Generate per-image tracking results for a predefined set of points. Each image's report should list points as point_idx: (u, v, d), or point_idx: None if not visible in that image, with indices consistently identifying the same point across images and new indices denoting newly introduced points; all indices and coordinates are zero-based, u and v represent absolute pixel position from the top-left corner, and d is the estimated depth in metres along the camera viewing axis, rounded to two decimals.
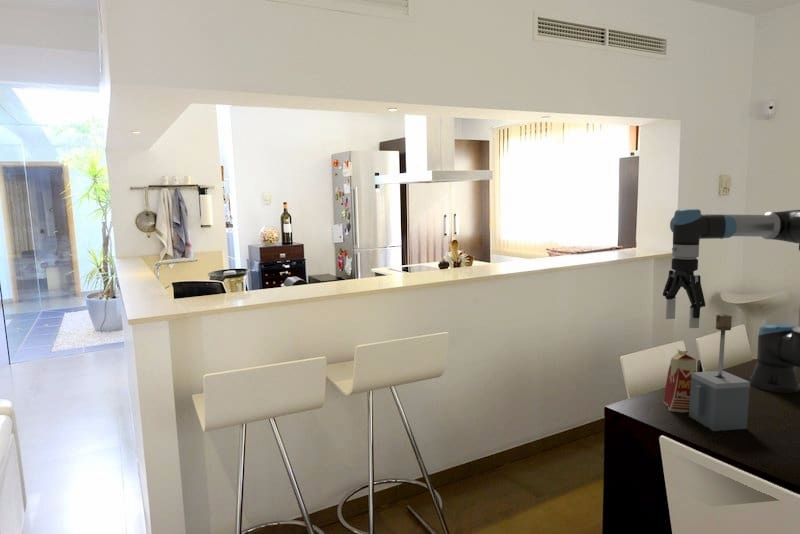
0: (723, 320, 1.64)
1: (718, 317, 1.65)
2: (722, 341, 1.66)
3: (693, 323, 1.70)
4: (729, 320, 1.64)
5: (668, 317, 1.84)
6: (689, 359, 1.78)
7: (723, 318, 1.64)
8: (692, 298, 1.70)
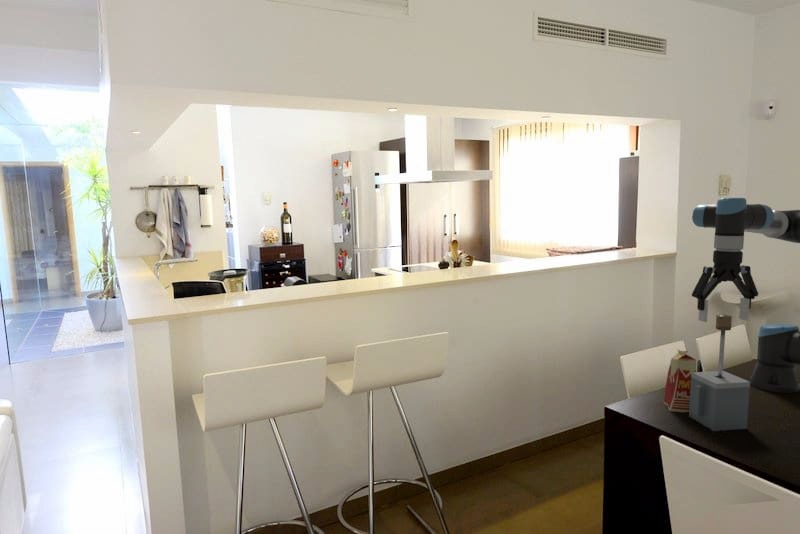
0: (723, 320, 1.64)
1: (718, 317, 1.65)
2: (722, 341, 1.66)
3: (700, 315, 1.65)
4: (729, 320, 1.64)
5: (740, 317, 1.67)
6: (689, 359, 1.78)
7: (723, 318, 1.64)
8: None
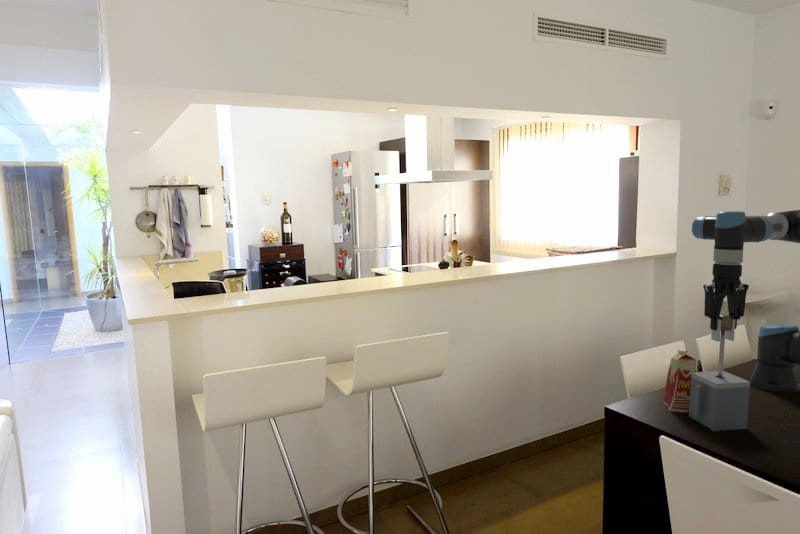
0: (723, 320, 1.64)
1: None
2: (722, 341, 1.66)
3: (713, 335, 1.66)
4: (729, 320, 1.64)
5: (726, 337, 1.67)
6: (689, 359, 1.78)
7: (723, 318, 1.64)
8: None
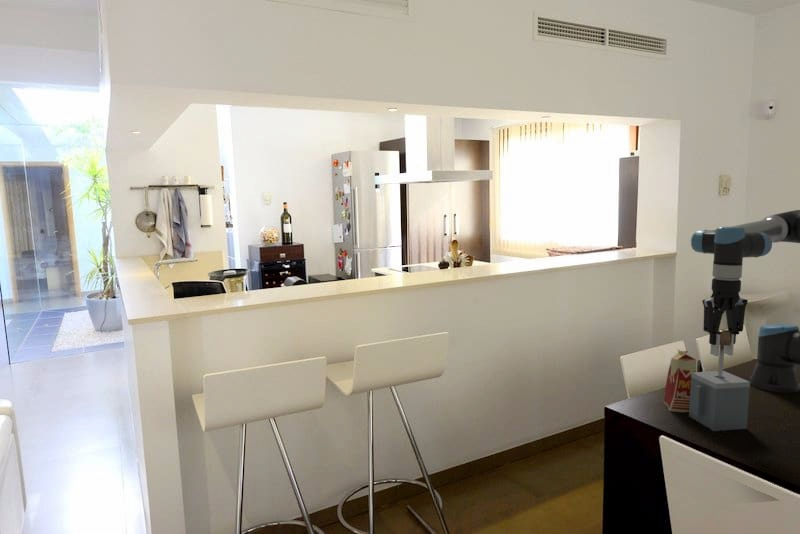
0: (722, 335, 1.64)
1: None
2: (721, 356, 1.66)
3: (712, 349, 1.67)
4: (728, 335, 1.64)
5: (725, 352, 1.68)
6: (689, 359, 1.78)
7: (722, 333, 1.64)
8: None
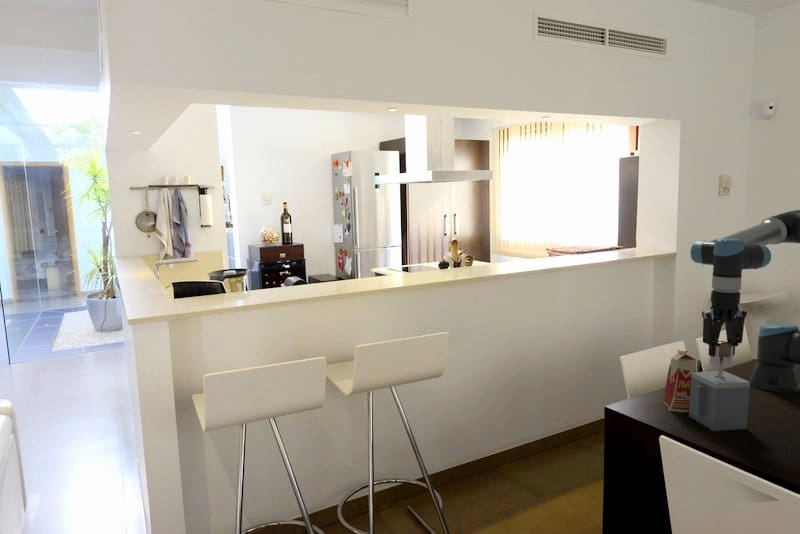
0: (722, 347, 1.65)
1: None
2: (720, 367, 1.67)
3: (711, 361, 1.67)
4: (727, 347, 1.65)
5: (724, 363, 1.68)
6: (689, 359, 1.78)
7: (721, 345, 1.65)
8: None
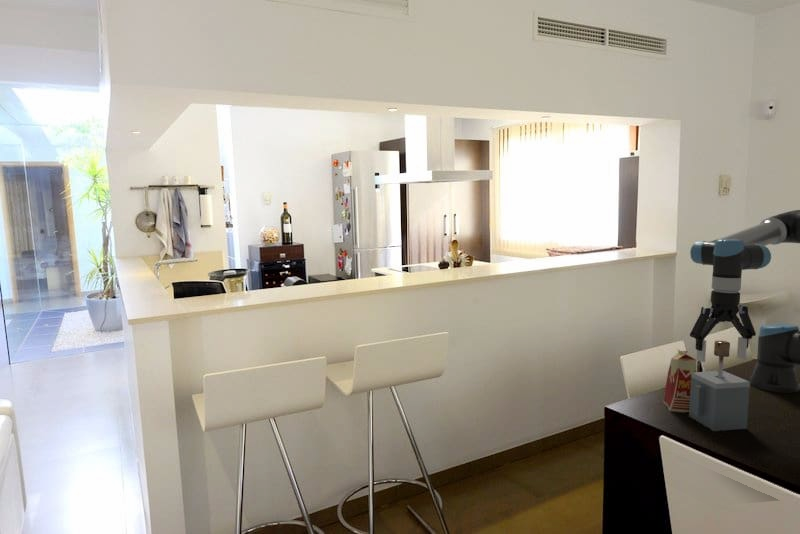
0: (722, 347, 1.65)
1: (716, 343, 1.66)
2: (720, 367, 1.67)
3: (699, 355, 1.66)
4: (727, 347, 1.65)
5: (738, 356, 1.69)
6: (689, 359, 1.78)
7: (721, 345, 1.65)
8: None
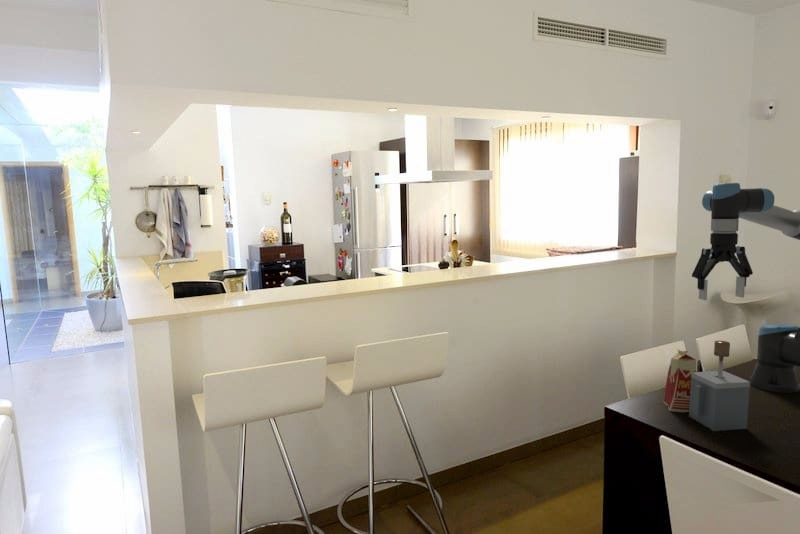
0: (722, 347, 1.65)
1: (716, 343, 1.66)
2: (720, 367, 1.67)
3: (700, 294, 1.76)
4: (727, 347, 1.65)
5: (736, 294, 1.79)
6: (689, 359, 1.78)
7: (721, 345, 1.65)
8: None
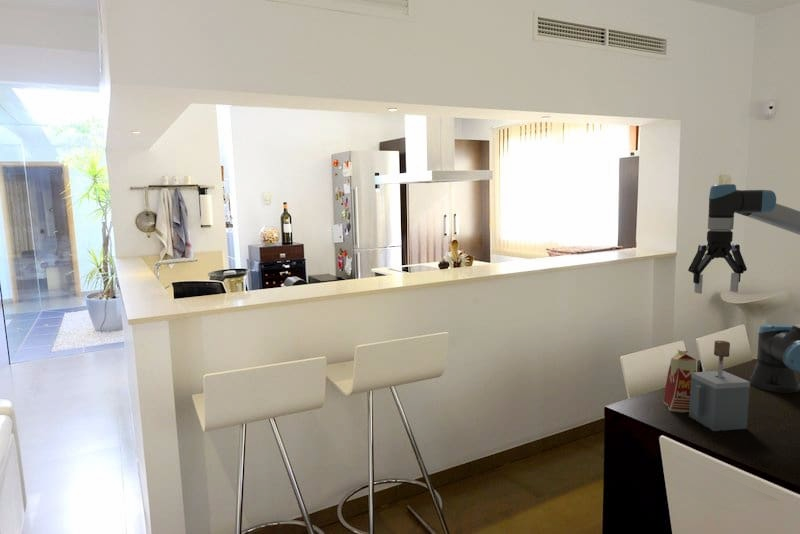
0: (722, 347, 1.65)
1: (716, 343, 1.66)
2: (720, 367, 1.67)
3: (696, 288, 1.87)
4: (727, 347, 1.65)
5: (731, 290, 1.90)
6: (689, 359, 1.78)
7: (721, 345, 1.65)
8: None
